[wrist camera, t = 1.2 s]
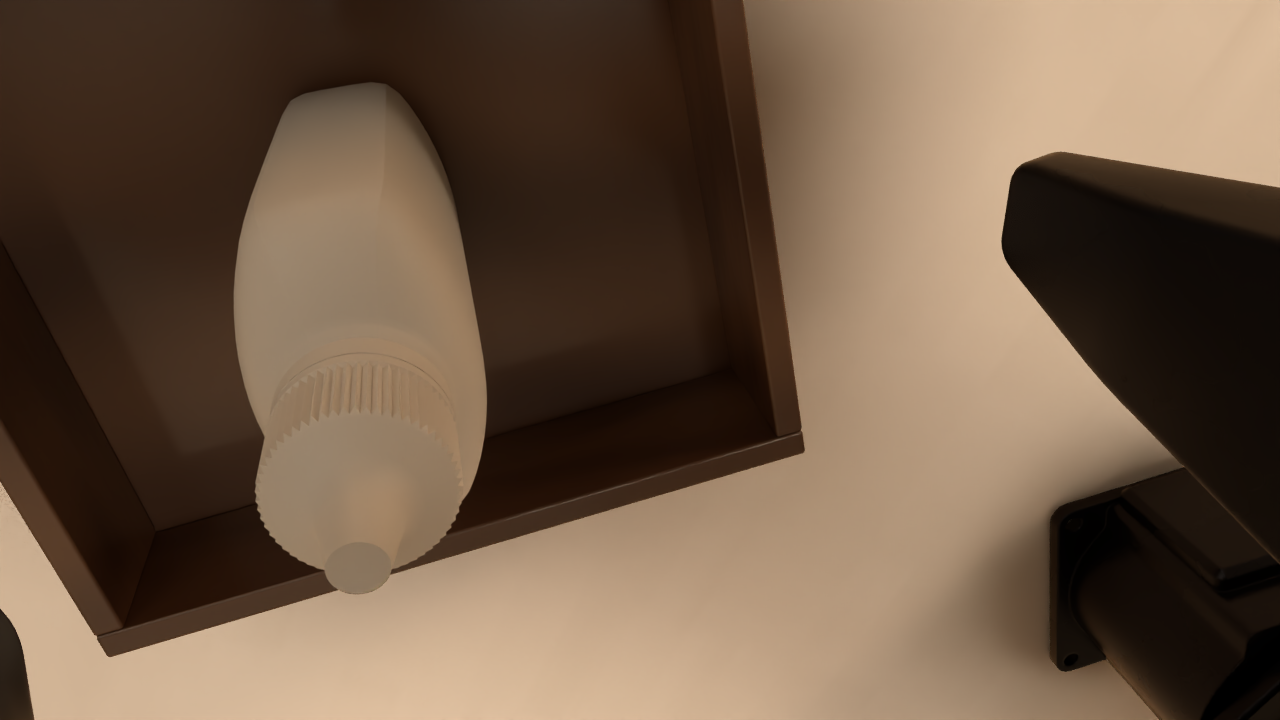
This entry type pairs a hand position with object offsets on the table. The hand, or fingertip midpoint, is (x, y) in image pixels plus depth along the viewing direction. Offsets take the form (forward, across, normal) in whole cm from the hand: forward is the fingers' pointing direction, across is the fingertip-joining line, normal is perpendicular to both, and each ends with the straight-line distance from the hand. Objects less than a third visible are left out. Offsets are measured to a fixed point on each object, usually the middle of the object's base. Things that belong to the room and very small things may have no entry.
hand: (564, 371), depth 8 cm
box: (+14, 0, +6) cm, 15 cm away
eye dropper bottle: (+14, 0, +6) cm, 15 cm away
